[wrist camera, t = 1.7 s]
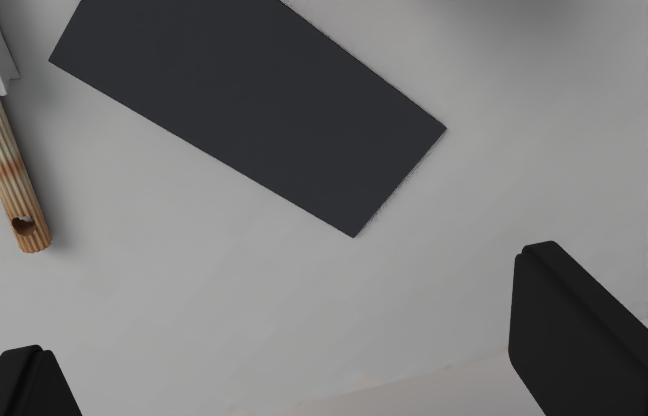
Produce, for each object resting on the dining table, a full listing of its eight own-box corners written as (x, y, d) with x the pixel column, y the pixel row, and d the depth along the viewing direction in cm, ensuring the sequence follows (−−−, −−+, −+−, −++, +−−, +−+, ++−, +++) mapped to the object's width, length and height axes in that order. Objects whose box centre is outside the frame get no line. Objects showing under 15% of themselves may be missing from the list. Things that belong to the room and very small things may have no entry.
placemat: (49, 59, 30) (47, 61, 30) (139, -106, 27) (138, -106, 27) (352, 235, 40) (353, 238, 39) (444, 126, 37) (447, 128, 36)
